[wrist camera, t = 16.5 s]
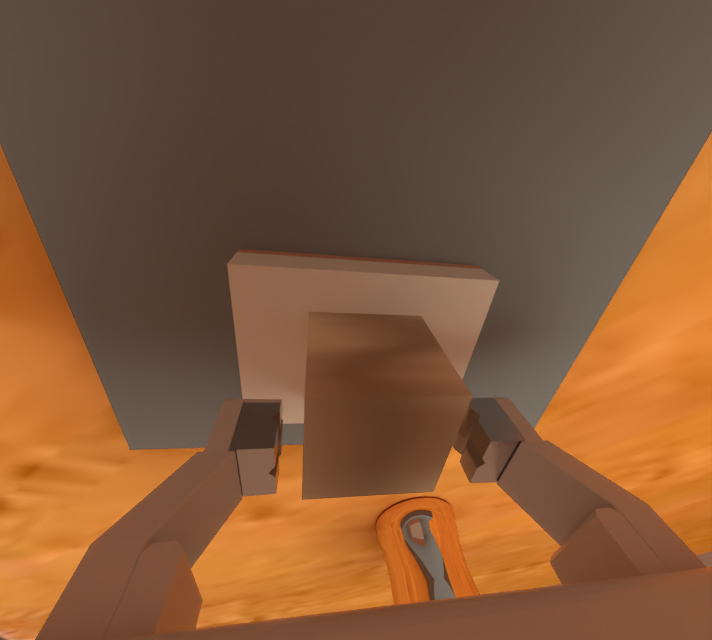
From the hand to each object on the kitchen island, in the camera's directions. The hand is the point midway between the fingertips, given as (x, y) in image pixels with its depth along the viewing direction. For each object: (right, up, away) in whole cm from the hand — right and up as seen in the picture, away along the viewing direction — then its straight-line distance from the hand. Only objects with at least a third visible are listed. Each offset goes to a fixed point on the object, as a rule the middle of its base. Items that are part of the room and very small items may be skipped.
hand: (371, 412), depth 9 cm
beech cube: (0, +1, +2) cm, 3 cm away
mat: (0, +5, +3) cm, 6 cm away
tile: (+4, +2, +4) cm, 6 cm away
